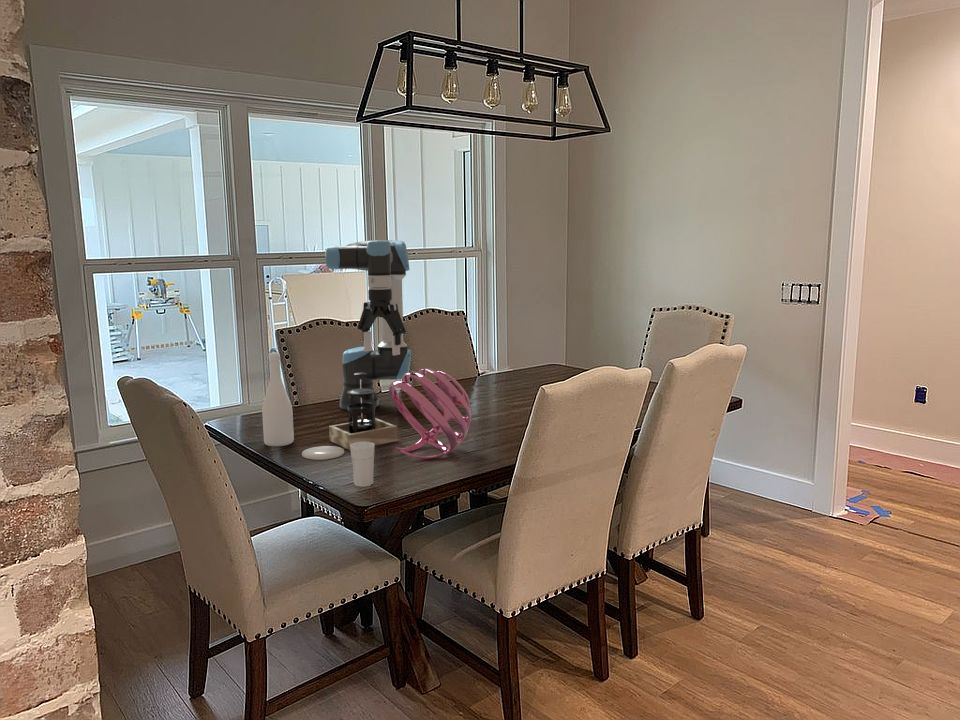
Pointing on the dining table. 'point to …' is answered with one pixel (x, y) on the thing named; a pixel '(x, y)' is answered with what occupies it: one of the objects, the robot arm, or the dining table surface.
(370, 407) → the french press
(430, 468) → the dining table surface
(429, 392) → the spiral basket
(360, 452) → the cup
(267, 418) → the wine bottle
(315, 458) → the trivet
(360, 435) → the holder
